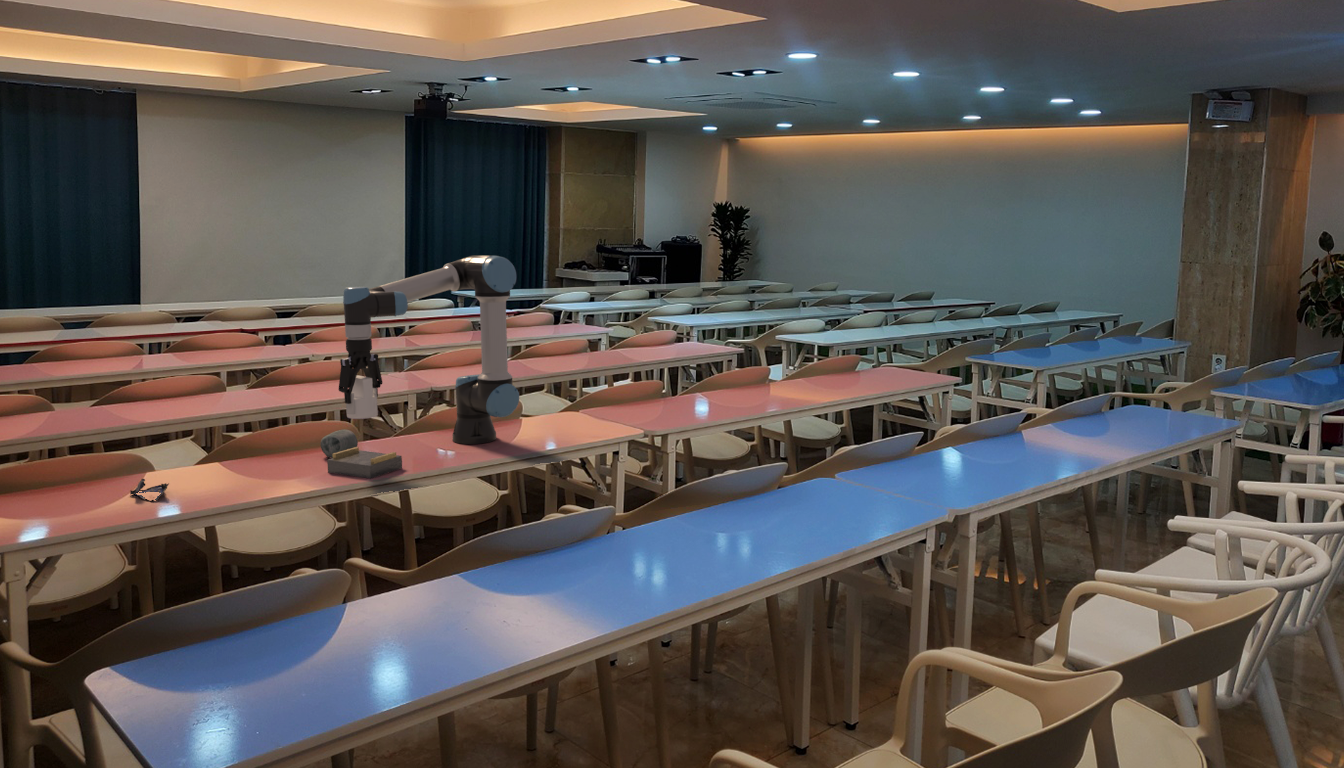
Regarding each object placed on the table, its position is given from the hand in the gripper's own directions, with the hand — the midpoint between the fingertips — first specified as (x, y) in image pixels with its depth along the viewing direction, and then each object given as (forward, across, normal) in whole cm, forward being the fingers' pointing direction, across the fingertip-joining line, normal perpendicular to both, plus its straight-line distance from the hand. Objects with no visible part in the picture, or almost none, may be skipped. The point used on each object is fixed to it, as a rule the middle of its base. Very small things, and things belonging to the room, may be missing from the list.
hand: (362, 411), depth 304 cm
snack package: (+19, +49, -33) cm, 62 cm away
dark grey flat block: (+19, 0, 0) cm, 19 cm away
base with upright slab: (+2, 0, 0) cm, 2 cm away
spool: (+19, -12, -22) cm, 31 cm away
